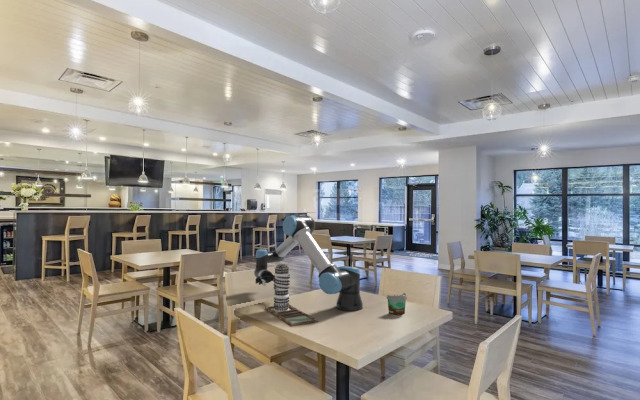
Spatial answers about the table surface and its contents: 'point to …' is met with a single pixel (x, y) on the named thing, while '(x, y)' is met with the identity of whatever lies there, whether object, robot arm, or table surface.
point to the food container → (397, 304)
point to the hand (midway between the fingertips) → (276, 282)
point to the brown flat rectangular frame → (293, 316)
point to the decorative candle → (281, 288)
